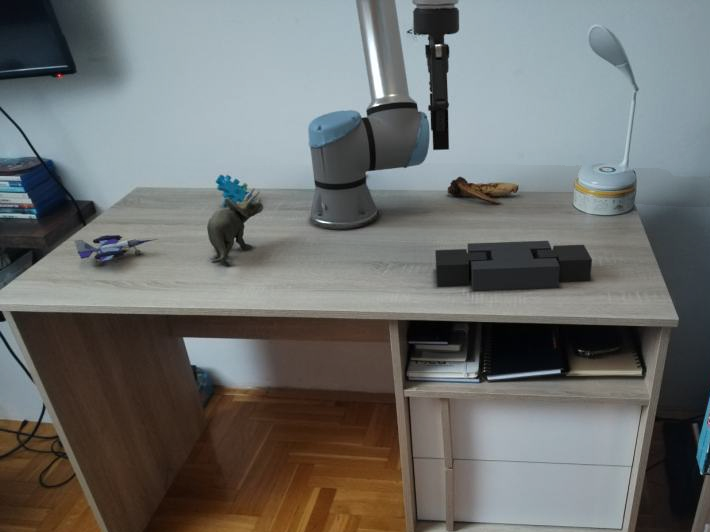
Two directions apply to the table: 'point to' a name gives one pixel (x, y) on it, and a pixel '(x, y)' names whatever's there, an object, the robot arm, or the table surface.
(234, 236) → the toy dinosaur
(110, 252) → the toy airplane
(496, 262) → the base tile
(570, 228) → the table surface
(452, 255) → the dark grey t-shaped block
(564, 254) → the dark stepped block
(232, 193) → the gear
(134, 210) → the table surface
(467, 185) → the bone fish hook
